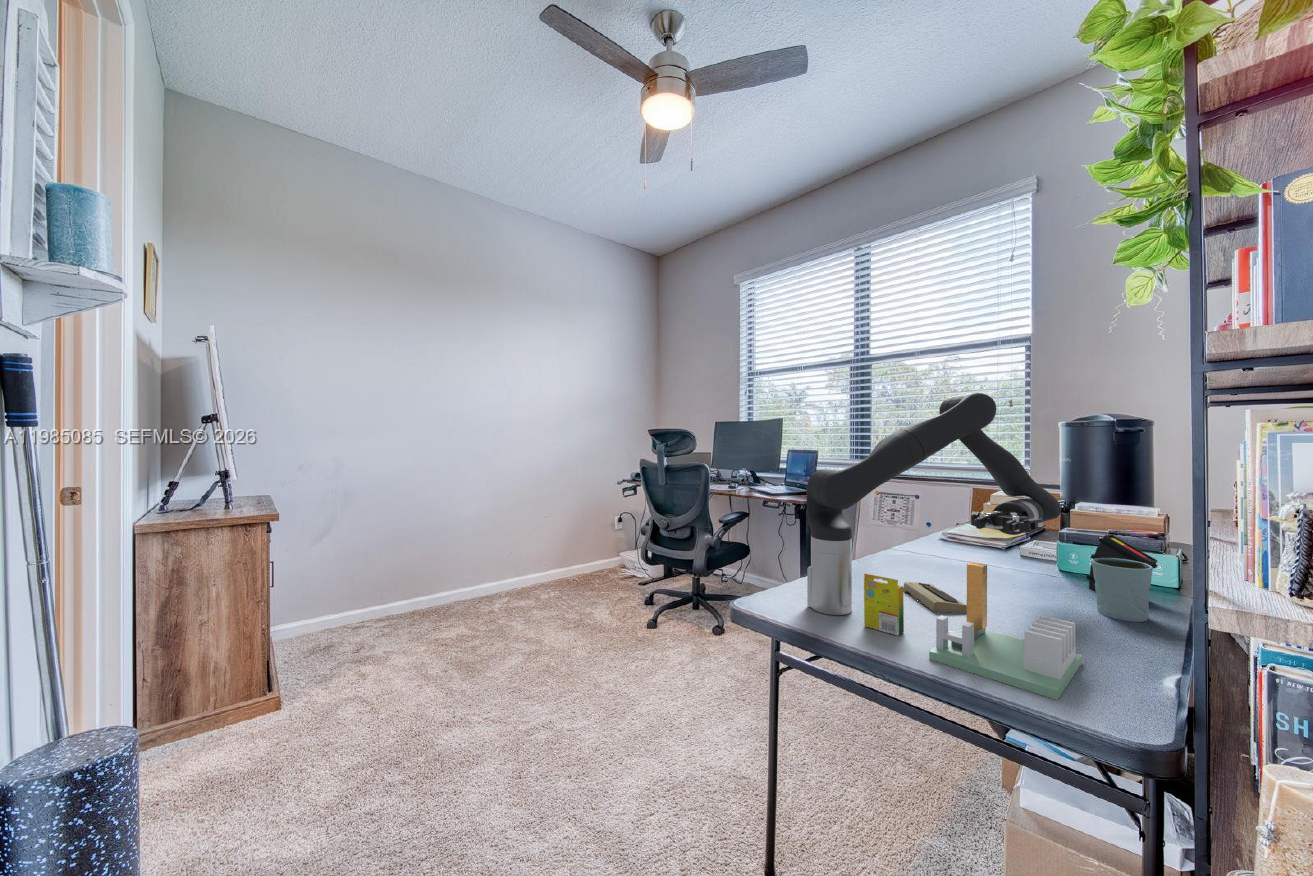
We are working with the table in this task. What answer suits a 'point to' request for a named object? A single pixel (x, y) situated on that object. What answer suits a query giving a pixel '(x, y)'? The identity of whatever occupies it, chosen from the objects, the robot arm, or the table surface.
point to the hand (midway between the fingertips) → (992, 525)
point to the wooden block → (976, 599)
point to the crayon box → (883, 605)
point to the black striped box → (1118, 554)
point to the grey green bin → (1122, 588)
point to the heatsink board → (1014, 654)
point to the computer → (934, 598)
